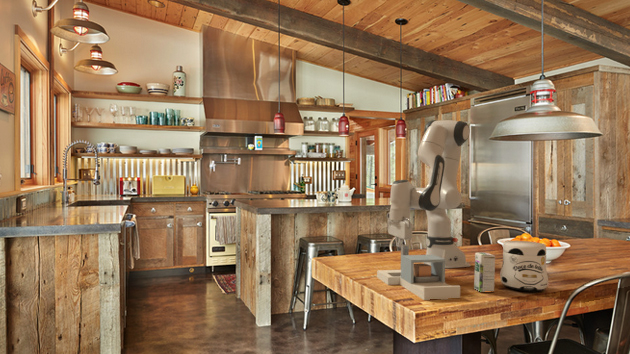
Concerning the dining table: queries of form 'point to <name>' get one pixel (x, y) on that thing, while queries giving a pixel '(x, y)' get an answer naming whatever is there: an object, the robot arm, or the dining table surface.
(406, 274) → the tunnel
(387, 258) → the dining table surface
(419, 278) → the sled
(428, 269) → the block
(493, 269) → the syrup box
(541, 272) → the milk container
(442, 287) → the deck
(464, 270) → the dining table surface
